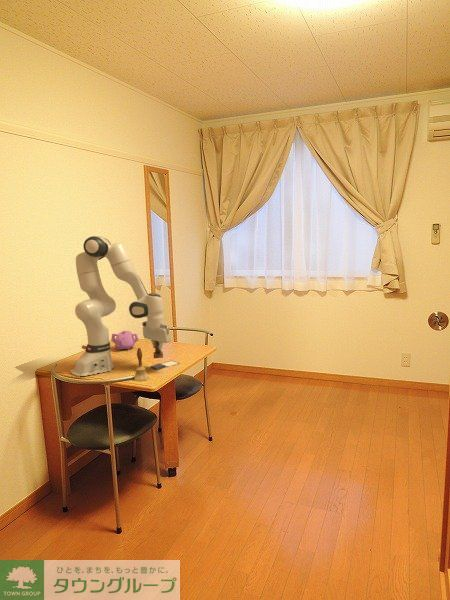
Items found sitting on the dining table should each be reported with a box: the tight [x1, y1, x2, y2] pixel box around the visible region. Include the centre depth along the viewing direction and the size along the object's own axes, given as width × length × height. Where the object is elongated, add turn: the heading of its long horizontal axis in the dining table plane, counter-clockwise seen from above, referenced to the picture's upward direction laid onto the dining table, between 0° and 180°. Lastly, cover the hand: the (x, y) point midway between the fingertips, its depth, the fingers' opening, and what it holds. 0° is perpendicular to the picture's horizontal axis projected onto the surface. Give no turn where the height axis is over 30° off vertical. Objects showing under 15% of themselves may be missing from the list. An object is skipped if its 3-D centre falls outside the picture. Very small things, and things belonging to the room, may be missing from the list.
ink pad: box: [149, 363, 167, 371], centre depth 223 cm, size 6×5×1 cm
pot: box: [110, 330, 139, 351], centre depth 262 cm, size 18×17×12 cm
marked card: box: [160, 360, 181, 368], centre depth 229 cm, size 8×8×1 cm
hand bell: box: [133, 347, 150, 382], centre depth 206 cm, size 8×8×16 cm
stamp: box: [153, 341, 164, 359], centre depth 221 cm, size 5×4×9 cm
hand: (157, 348), depth 221 cm, fingers closed on stamp, 3 cm apart
